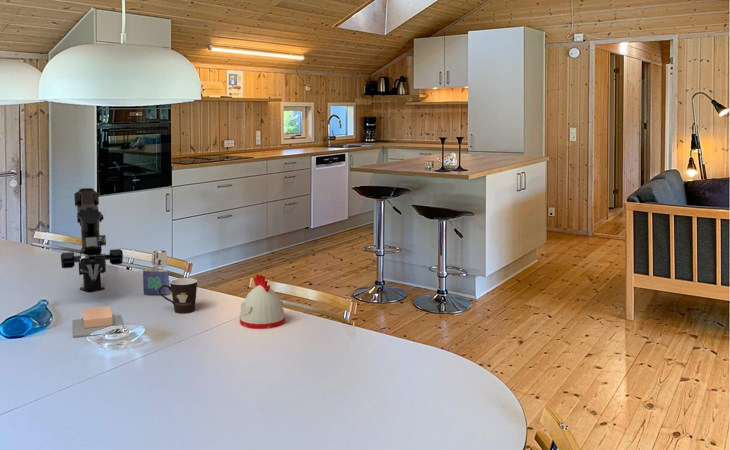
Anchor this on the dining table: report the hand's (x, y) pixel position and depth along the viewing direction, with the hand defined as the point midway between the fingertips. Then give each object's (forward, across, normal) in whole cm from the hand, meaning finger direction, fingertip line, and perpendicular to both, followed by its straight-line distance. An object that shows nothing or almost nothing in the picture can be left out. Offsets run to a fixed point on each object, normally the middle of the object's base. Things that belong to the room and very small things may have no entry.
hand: (94, 280), depth 208 cm
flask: (-1, +20, +16) cm, 26 cm away
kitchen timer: (+29, +47, -15) cm, 57 cm away
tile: (+11, 0, 0) cm, 11 cm away
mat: (+19, 0, -5) cm, 20 cm away
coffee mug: (+14, +26, 0) cm, 29 cm away
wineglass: (-13, +24, +28) cm, 39 cm away
